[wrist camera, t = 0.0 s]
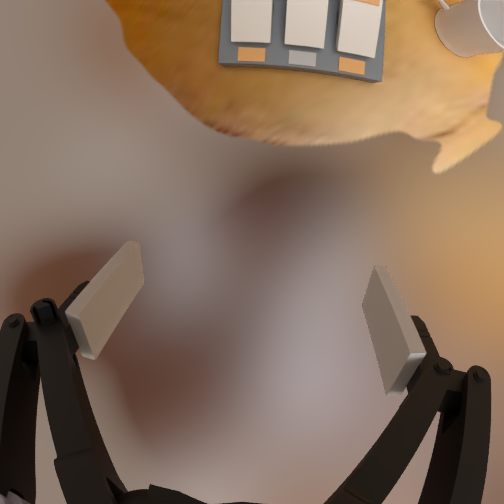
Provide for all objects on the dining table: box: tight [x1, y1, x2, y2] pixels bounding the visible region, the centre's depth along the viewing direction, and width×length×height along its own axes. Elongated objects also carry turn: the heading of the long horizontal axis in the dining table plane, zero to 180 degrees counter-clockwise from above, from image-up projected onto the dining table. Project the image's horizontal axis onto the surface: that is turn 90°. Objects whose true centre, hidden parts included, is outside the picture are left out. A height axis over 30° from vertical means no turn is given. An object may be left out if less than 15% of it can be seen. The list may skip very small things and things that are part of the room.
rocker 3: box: [335, 0, 383, 58], centre depth 24 cm, size 10×4×2 cm, turn 179°
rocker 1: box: [231, 0, 273, 43], centre depth 25 cm, size 10×4×2 cm, turn 178°
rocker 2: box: [285, 0, 328, 49], centre depth 25 cm, size 10×4×2 cm, turn 179°
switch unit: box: [218, 0, 385, 83], centre depth 29 cm, size 15×20×5 cm
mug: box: [435, 0, 504, 57], centre depth 22 cm, size 12×8×12 cm
